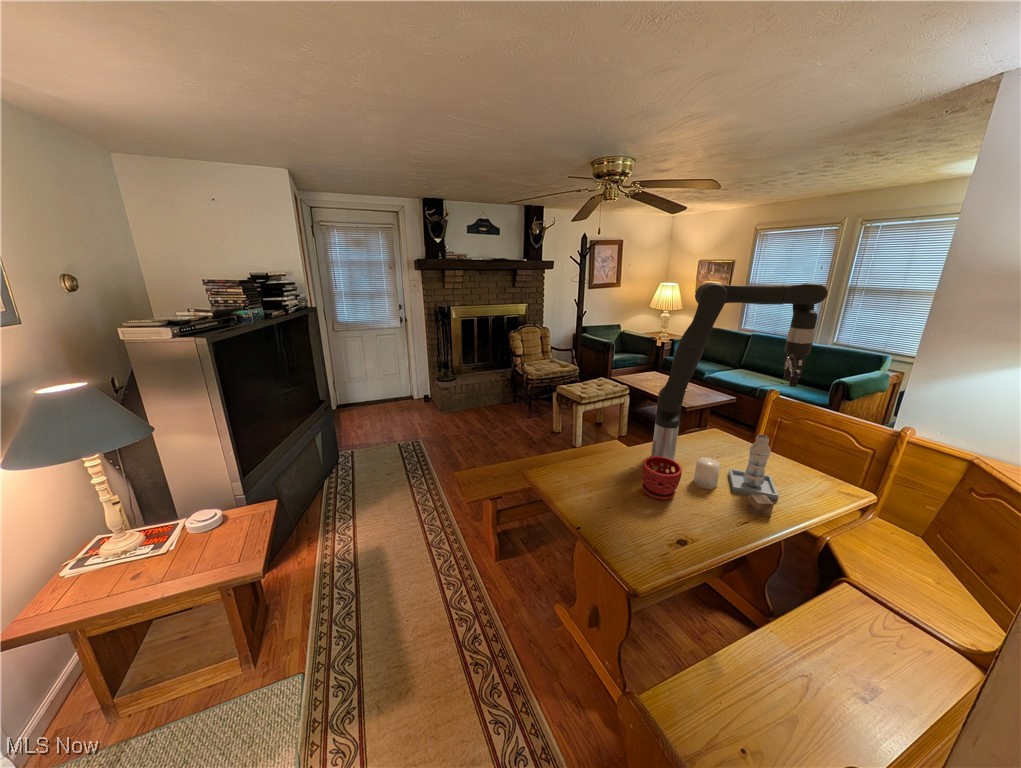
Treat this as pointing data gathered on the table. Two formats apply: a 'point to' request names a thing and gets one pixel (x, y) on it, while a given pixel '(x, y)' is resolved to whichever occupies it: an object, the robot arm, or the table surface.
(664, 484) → the plant pot
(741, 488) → the tray
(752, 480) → the plastic bottle
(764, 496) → the walnut block
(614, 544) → the table surface
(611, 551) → the table surface
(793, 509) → the table surface
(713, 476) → the white domed cylinder
